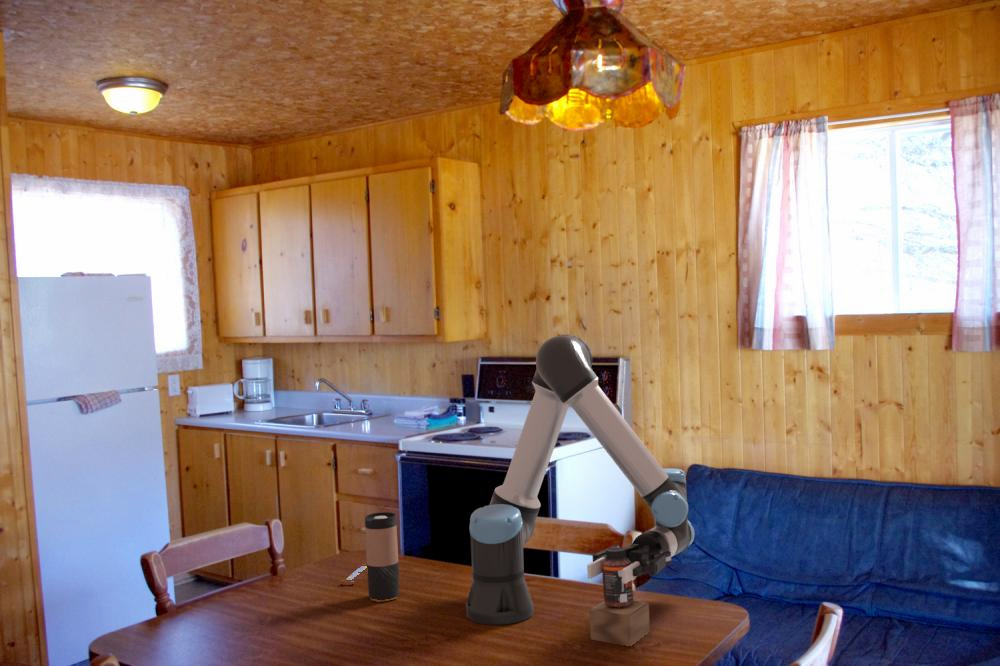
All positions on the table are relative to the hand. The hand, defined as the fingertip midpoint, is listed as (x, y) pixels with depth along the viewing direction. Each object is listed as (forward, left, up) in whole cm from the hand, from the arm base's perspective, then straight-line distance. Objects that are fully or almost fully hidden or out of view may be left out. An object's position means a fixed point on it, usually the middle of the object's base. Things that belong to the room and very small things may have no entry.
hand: (606, 574), depth 175 cm
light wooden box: (0, +5, -14) cm, 15 cm away
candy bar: (-81, +12, -15) cm, 83 cm away
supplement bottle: (0, +5, -8) cm, 9 cm away
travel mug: (-62, +2, -14) cm, 64 cm away
